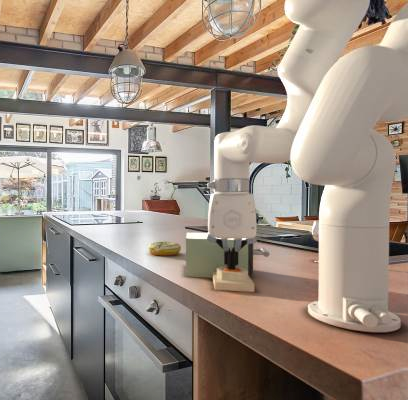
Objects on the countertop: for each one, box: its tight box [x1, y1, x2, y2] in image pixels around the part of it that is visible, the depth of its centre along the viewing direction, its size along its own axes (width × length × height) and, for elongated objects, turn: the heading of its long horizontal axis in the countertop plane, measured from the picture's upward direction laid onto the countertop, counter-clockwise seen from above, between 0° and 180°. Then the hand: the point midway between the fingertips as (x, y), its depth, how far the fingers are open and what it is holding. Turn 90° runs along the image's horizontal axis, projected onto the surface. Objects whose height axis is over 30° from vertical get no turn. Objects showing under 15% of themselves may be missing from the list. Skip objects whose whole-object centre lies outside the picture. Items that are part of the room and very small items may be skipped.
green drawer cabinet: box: [185, 232, 248, 279], centre depth 92 cm, size 15×13×10 cm
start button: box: [224, 267, 240, 272], centre depth 80 cm, size 4×4×2 cm
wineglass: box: [311, 220, 319, 264], centre depth 104 cm, size 6×6×12 cm
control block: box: [211, 267, 255, 293], centre depth 80 cm, size 10×8×4 cm
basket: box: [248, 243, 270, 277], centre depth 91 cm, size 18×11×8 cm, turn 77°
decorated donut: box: [148, 240, 182, 257], centre depth 120 cm, size 10×11×4 cm
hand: (231, 267), depth 80 cm, fingers closed
